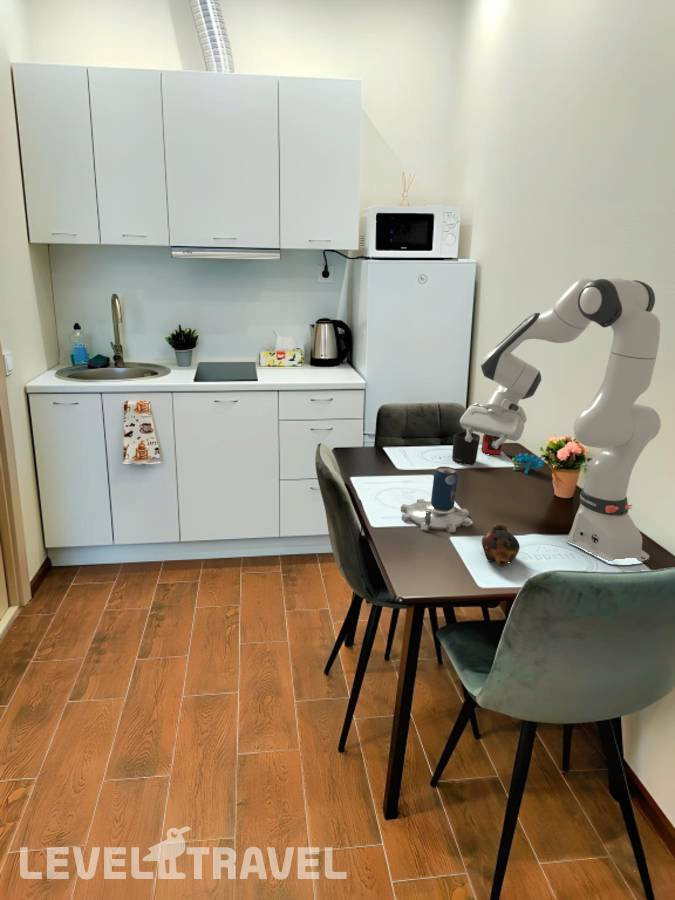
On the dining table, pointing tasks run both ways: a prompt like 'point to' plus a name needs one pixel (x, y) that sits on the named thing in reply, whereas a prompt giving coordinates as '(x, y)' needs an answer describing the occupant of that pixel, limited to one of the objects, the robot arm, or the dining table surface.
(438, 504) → the soda can
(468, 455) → the pen holder
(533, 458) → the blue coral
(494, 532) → the decorative turtle
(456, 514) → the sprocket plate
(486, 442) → the canned food
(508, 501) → the dining table surface
